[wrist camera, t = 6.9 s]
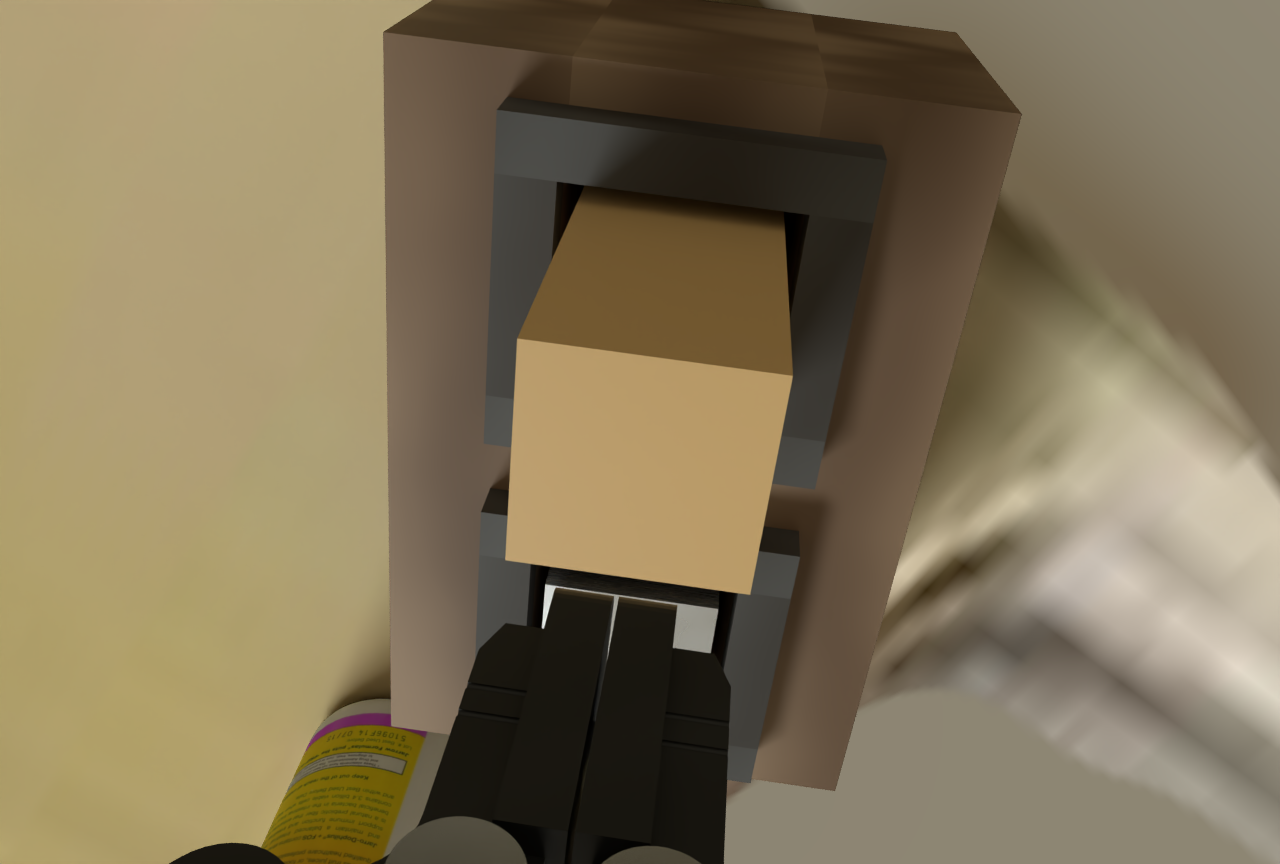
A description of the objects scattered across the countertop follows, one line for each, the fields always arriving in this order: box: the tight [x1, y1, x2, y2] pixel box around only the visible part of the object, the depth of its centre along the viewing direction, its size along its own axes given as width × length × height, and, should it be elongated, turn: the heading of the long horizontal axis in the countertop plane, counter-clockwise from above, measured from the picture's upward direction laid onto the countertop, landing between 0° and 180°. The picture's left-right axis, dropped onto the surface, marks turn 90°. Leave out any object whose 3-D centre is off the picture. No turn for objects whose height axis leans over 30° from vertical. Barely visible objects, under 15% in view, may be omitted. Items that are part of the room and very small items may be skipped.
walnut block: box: [383, 0, 1022, 791], centre depth 28 cm, size 12×18×9 cm, turn 174°
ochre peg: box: [505, 185, 793, 595], centre depth 21 cm, size 4×4×8 cm
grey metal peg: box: [542, 567, 719, 658], centre depth 30 cm, size 4×4×8 cm
